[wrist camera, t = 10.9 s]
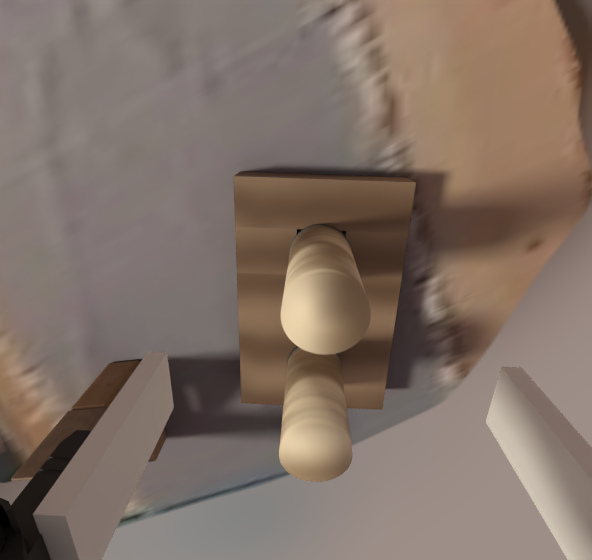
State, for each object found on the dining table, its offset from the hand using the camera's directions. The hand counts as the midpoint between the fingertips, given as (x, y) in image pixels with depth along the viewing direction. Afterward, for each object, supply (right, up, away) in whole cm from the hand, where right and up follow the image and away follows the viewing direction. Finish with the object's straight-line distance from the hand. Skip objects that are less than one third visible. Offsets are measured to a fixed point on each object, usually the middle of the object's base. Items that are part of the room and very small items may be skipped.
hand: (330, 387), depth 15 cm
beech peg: (+1, +7, +18) cm, 20 cm away
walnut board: (+1, +3, +21) cm, 21 cm away
